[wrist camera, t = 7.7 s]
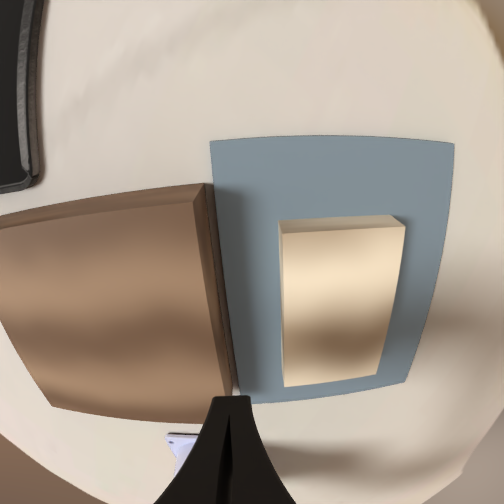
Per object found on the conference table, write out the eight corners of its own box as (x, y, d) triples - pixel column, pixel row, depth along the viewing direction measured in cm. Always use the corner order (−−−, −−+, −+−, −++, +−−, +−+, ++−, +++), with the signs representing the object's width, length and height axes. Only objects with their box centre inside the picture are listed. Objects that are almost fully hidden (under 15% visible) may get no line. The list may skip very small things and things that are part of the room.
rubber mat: (403, 378, 21) (404, 382, 21) (242, 400, 21) (242, 404, 21) (450, 142, 14) (454, 143, 13) (210, 141, 14) (209, 141, 13)
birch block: (284, 387, 17) (281, 367, 19) (375, 374, 17) (368, 356, 19) (282, 233, 13) (278, 220, 15) (405, 226, 13) (390, 214, 15)
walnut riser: (232, 384, 20) (231, 423, 17) (67, 376, 20) (52, 406, 17) (204, 182, 14) (192, 202, 11) (1, 215, 15) (-33, 236, 11)
